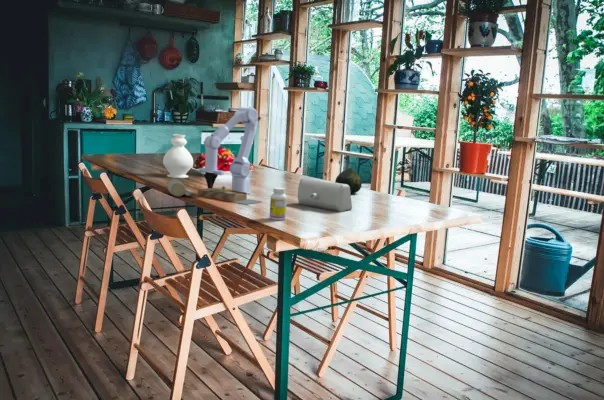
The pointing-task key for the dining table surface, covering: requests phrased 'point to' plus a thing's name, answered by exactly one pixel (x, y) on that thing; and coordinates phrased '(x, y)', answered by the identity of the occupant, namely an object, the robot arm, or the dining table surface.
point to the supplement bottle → (278, 204)
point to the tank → (324, 195)
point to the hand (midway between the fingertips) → (210, 188)
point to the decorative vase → (178, 158)
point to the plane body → (223, 195)
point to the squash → (350, 180)
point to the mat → (247, 201)
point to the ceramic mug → (177, 188)
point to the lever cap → (222, 189)
